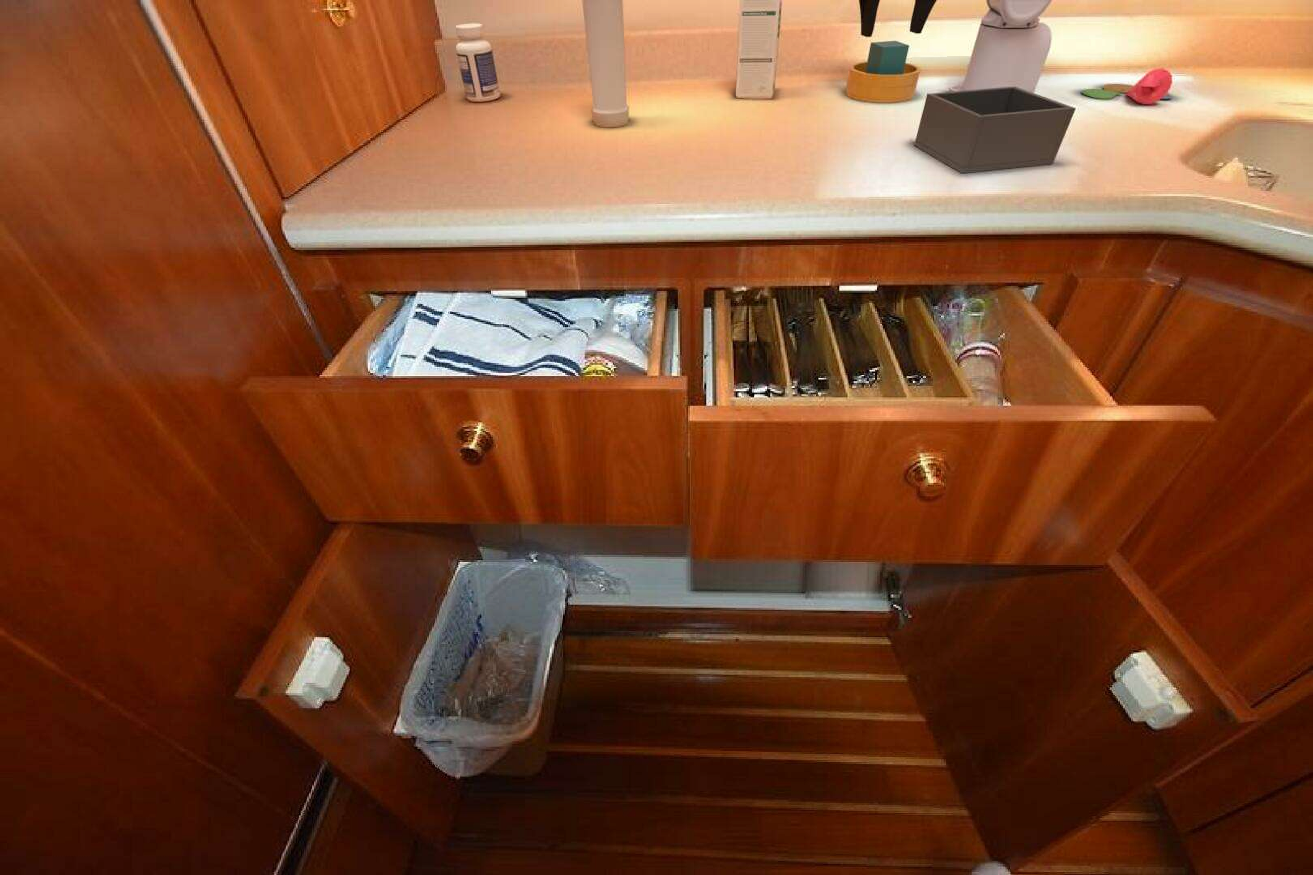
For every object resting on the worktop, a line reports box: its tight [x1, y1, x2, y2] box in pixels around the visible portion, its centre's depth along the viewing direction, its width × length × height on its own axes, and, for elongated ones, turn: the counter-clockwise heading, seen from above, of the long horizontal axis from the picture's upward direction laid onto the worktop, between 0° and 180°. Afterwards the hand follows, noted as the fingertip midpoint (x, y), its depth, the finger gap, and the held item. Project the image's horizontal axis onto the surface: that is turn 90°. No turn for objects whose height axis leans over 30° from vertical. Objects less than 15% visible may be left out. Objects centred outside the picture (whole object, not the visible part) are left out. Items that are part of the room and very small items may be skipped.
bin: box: [913, 86, 1077, 174], centre depth 66 cm, size 11×10×6 cm
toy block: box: [865, 40, 910, 75], centre depth 87 cm, size 4×4×6 cm
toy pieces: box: [1080, 67, 1173, 105], centre depth 84 cm, size 12×11×4 cm
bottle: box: [581, 0, 630, 128], centre depth 74 cm, size 5×5×25 cm
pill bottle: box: [455, 22, 501, 103], centre depth 91 cm, size 5×5×10 cm
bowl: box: [845, 61, 922, 104], centre depth 88 cm, size 10×10×4 cm
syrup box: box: [735, 0, 783, 100], centre depth 87 cm, size 6×6×14 cm
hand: (890, 34), depth 84 cm, fingers open, 7 cm apart
